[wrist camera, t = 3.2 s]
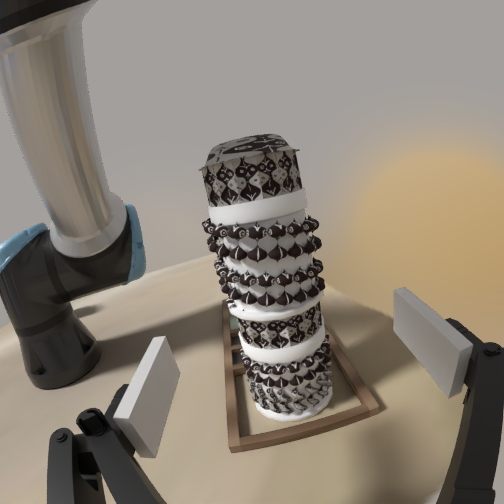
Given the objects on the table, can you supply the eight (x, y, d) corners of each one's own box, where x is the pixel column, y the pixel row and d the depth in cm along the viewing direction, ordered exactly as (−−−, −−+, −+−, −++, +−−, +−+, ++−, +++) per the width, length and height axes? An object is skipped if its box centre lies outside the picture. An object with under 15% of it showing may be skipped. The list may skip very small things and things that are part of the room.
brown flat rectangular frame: (378, 413, 22) (379, 406, 22) (231, 453, 22) (228, 447, 22) (296, 288, 55) (295, 283, 55) (223, 304, 55) (222, 300, 54)
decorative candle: (237, 388, 31) (177, 159, 25) (306, 357, 34) (269, 143, 28) (273, 439, 23) (200, 138, 16) (353, 395, 26) (325, 124, 19)
